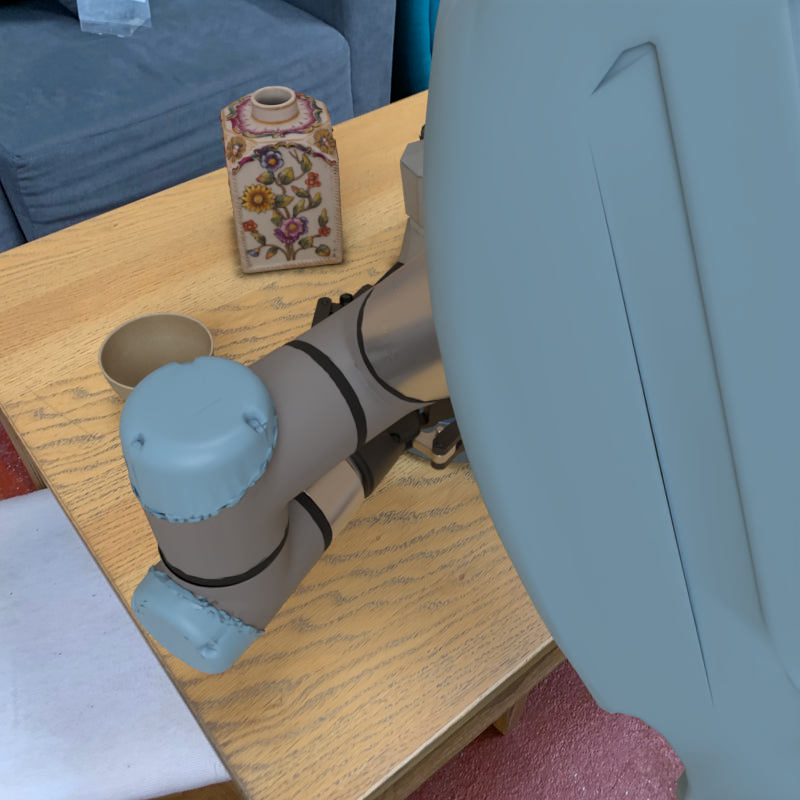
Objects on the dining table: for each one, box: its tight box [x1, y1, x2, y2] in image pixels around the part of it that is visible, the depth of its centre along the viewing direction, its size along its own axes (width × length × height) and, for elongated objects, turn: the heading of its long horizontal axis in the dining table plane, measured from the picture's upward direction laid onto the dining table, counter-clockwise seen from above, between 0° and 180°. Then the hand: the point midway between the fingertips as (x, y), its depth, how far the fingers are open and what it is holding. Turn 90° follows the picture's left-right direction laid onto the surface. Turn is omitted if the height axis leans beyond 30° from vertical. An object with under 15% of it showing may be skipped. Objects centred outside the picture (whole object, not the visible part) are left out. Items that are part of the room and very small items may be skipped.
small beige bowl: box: [97, 311, 215, 402], centre depth 70 cm, size 10×10×7 cm
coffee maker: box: [398, 123, 425, 264], centre depth 82 cm, size 15×9×18 cm, turn 9°
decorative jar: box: [218, 85, 344, 274], centre depth 84 cm, size 12×12×18 cm
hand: (468, 301), depth 66 cm, fingers open, 13 cm apart
